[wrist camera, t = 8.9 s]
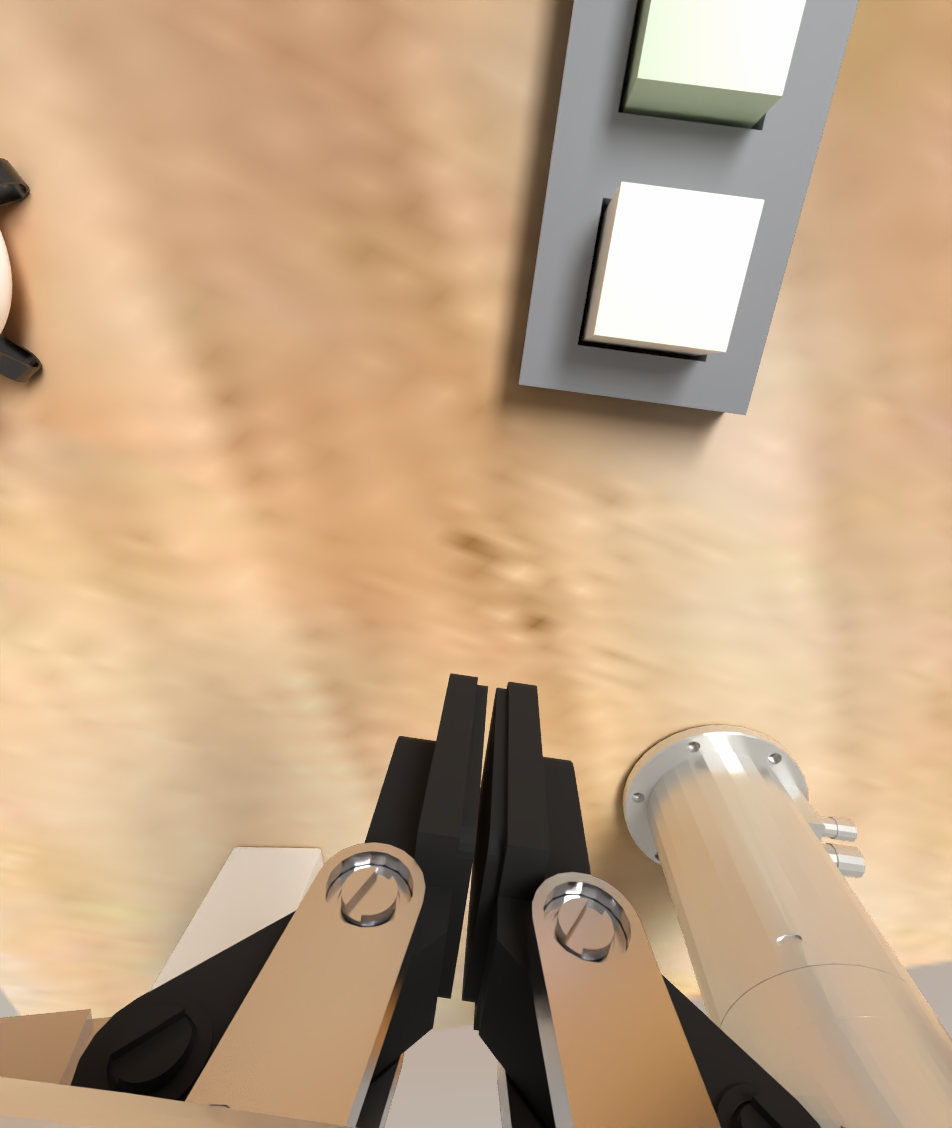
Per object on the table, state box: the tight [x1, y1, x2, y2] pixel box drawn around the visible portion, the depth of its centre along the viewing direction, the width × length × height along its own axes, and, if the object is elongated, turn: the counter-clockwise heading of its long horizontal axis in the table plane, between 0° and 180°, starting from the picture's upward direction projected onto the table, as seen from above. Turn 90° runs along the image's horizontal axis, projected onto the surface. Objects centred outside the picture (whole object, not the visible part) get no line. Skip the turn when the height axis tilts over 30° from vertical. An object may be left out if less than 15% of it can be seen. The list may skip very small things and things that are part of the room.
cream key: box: [581, 182, 764, 356], centre depth 27 cm, size 6×6×5 cm
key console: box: [518, 0, 859, 415], centre depth 26 cm, size 12×31×3 cm, turn 173°
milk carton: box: [149, 847, 323, 992], centre depth 37 cm, size 7×7×19 cm
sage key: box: [619, 0, 806, 129], centre depth 25 cm, size 6×6×5 cm
